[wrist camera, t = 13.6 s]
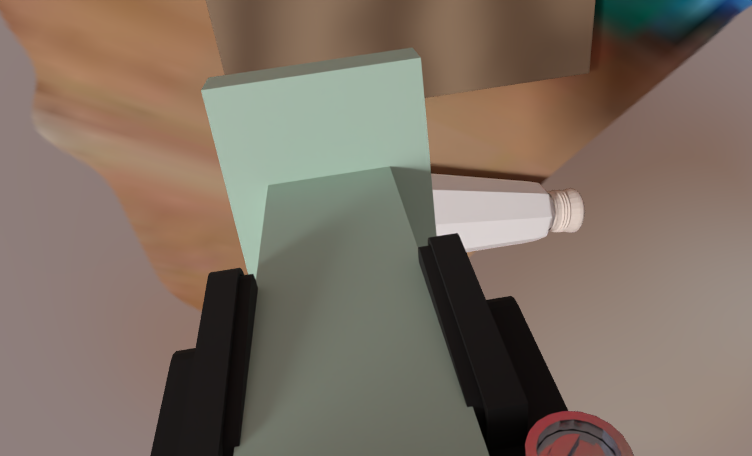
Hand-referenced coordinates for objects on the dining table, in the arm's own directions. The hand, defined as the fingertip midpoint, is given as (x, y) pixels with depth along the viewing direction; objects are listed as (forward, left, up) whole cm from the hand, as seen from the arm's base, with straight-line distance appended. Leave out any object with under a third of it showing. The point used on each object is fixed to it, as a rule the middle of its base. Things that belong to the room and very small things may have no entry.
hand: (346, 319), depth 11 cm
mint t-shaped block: (0, +1, -6) cm, 6 cm away
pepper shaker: (-4, +13, -22) cm, 26 cm away
